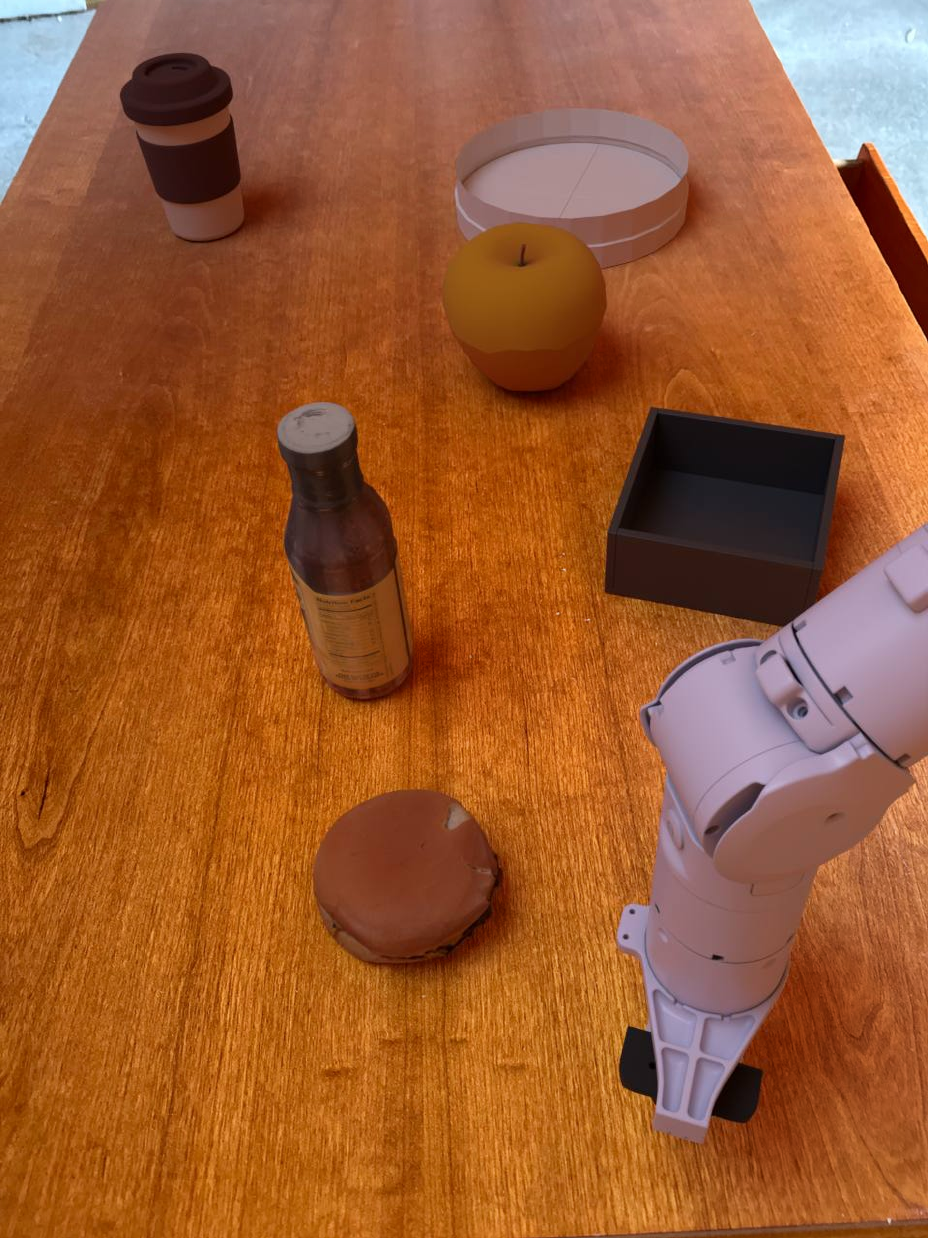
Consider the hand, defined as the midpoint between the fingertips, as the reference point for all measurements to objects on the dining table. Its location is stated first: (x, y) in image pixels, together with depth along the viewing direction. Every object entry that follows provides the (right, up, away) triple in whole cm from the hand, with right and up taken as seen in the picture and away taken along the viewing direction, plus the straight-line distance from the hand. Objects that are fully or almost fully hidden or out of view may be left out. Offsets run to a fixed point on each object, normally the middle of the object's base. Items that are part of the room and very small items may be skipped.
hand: (694, 1036), depth 54 cm
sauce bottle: (-17, +16, +19) cm, 30 cm away
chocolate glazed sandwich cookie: (-14, +5, +8) cm, 17 cm away
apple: (-6, +40, +39) cm, 56 cm away
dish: (-1, +59, +56) cm, 81 cm away
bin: (+7, +25, +24) cm, 35 cm away
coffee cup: (-36, +58, +58) cm, 90 cm away
